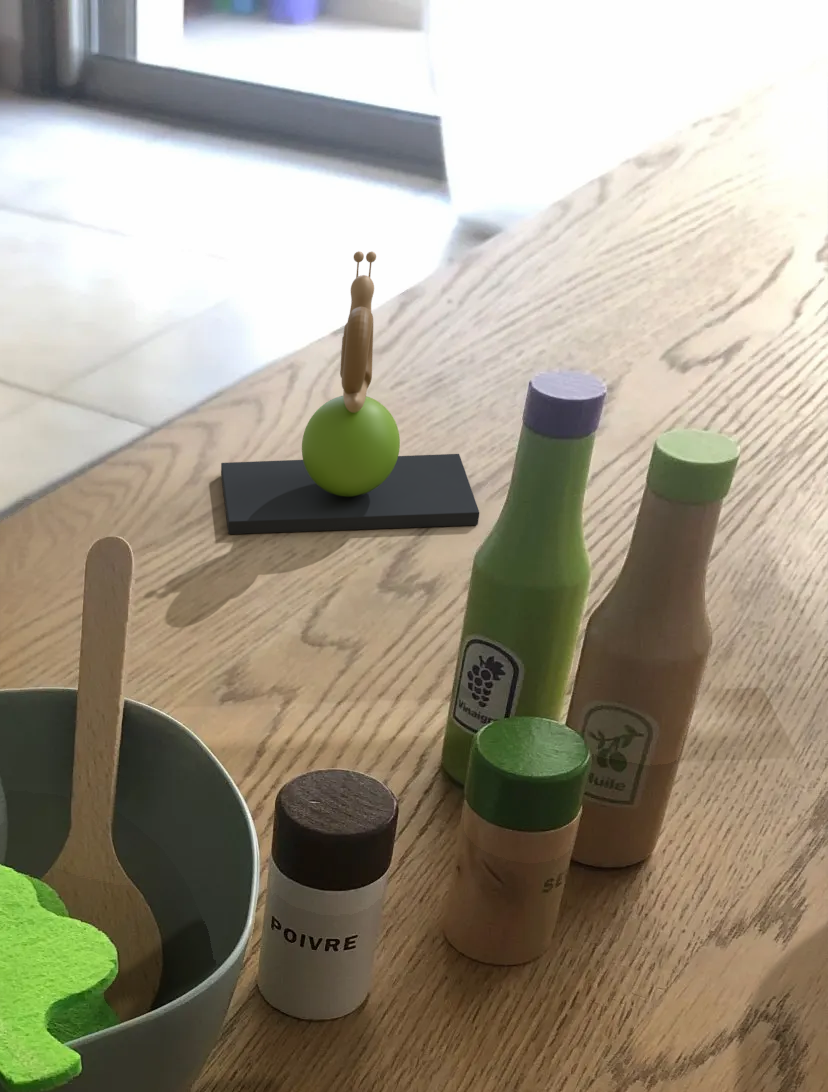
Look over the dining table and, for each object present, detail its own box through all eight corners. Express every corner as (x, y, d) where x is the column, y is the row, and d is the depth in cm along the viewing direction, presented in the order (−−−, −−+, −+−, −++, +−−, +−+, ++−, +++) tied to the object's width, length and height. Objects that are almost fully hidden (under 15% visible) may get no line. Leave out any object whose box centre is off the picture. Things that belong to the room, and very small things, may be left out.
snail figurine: (395, 461, 95) (416, 250, 87) (394, 515, 91) (417, 298, 82) (301, 458, 96) (314, 249, 88) (297, 512, 92) (309, 297, 83)
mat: (457, 466, 96) (459, 453, 96) (477, 525, 91) (479, 512, 91) (220, 475, 97) (221, 462, 96) (228, 534, 92) (228, 521, 91)
